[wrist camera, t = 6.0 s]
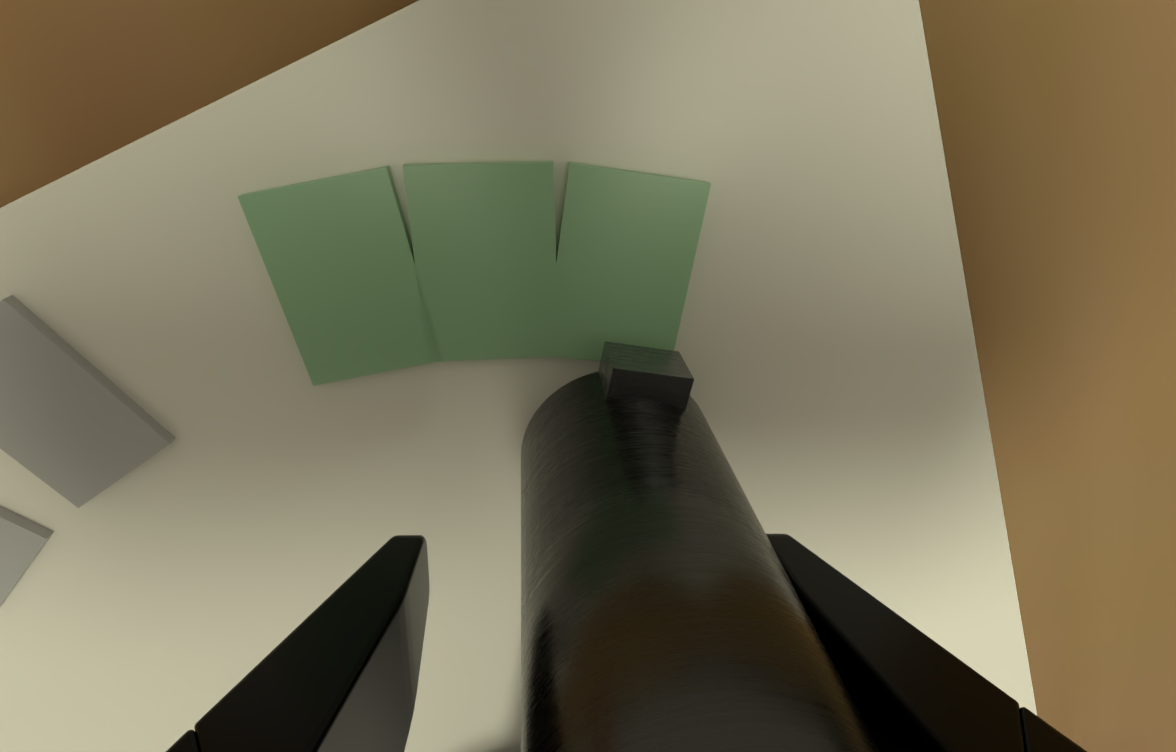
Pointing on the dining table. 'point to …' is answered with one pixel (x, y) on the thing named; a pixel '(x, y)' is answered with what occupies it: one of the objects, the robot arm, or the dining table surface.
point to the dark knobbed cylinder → (658, 584)
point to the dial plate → (479, 343)
